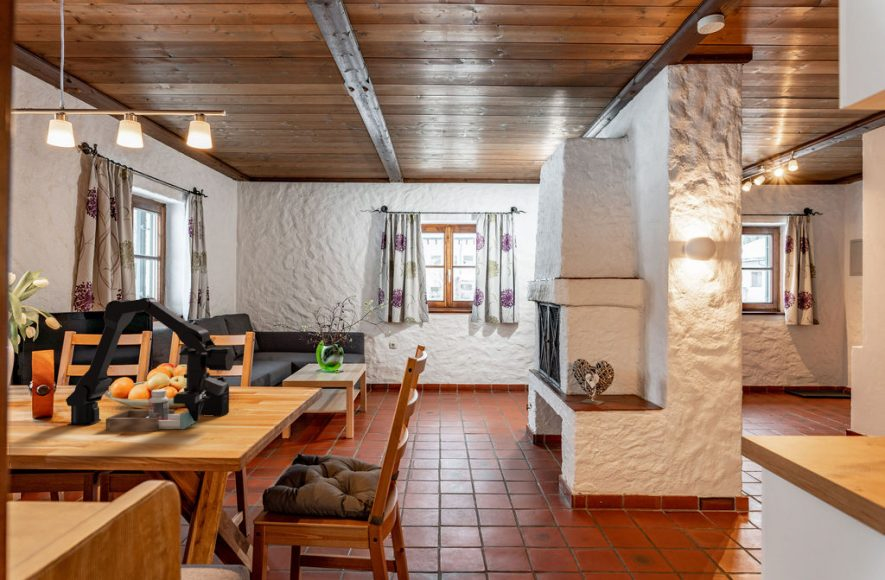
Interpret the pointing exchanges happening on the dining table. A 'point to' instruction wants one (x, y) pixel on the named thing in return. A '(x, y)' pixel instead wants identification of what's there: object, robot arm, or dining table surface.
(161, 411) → the pill bottle
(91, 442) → the dining table surface
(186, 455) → the dining table surface
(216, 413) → the electronic device
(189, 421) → the tray
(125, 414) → the dock
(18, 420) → the dining table surface
